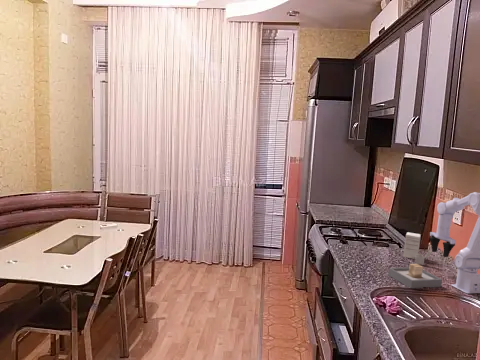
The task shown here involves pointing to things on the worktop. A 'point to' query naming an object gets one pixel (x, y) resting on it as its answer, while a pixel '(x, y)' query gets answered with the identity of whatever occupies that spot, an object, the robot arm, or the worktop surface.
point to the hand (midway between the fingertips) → (439, 254)
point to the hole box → (404, 278)
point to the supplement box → (411, 245)
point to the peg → (415, 271)
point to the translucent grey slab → (421, 258)
